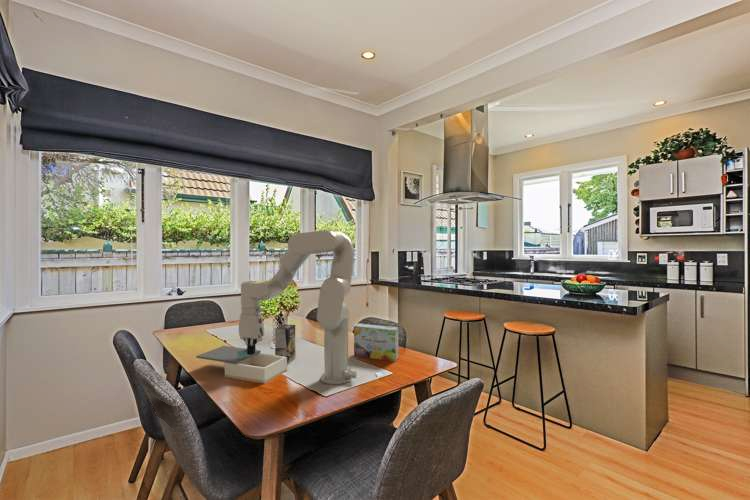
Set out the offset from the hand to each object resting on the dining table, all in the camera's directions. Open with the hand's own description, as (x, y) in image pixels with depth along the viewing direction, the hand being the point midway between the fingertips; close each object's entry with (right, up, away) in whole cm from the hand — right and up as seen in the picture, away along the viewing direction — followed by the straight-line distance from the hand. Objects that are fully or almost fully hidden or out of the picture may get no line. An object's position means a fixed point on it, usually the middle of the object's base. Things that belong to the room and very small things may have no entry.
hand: (251, 353), depth 159 cm
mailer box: (+2, -8, -1) cm, 9 cm away
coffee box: (+11, -8, +15) cm, 20 cm away
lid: (-11, -2, +5) cm, 12 cm away
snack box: (+53, -8, +20) cm, 57 cm away
